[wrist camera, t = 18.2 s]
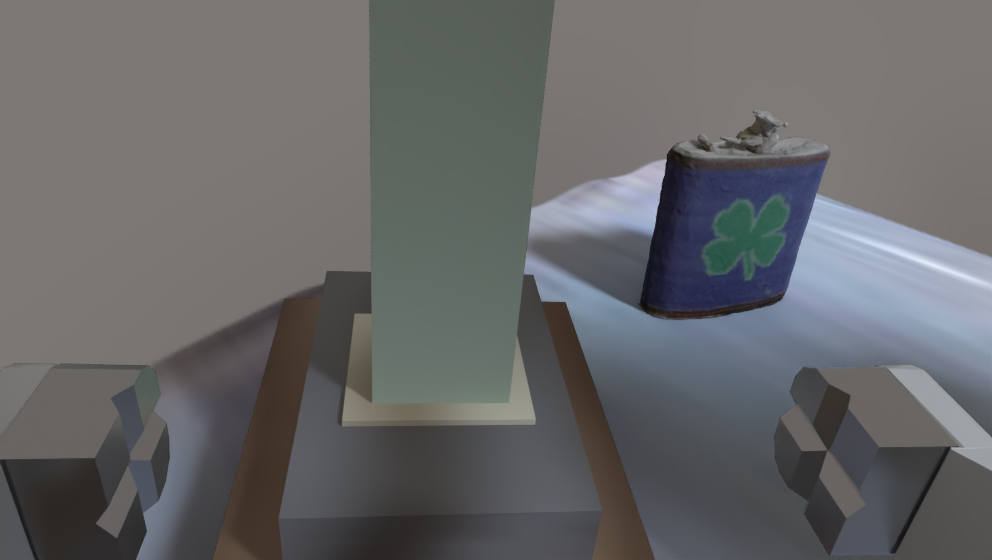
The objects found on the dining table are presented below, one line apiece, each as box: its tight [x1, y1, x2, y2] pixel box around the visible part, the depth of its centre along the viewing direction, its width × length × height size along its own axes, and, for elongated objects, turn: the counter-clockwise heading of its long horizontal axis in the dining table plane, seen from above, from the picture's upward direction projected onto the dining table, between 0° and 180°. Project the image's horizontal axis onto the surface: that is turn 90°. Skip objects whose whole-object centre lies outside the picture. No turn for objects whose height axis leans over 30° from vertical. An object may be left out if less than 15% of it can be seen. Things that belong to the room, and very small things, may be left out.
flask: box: [639, 110, 830, 319], centre depth 37 cm, size 9×3×11 cm, turn 110°
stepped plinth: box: [213, 271, 655, 560], centre depth 25 cm, size 12×16×6 cm
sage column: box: [369, 0, 555, 404], centre depth 20 cm, size 4×4×12 cm
